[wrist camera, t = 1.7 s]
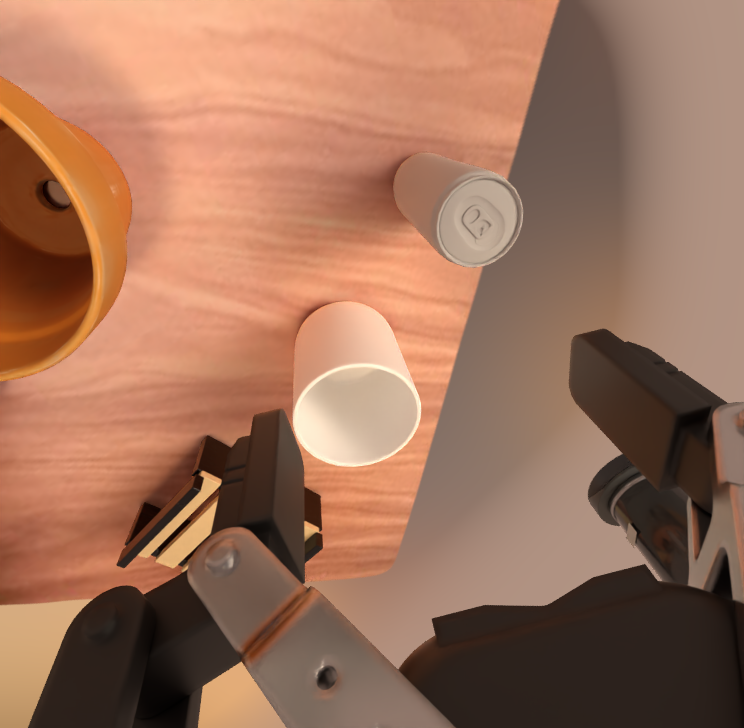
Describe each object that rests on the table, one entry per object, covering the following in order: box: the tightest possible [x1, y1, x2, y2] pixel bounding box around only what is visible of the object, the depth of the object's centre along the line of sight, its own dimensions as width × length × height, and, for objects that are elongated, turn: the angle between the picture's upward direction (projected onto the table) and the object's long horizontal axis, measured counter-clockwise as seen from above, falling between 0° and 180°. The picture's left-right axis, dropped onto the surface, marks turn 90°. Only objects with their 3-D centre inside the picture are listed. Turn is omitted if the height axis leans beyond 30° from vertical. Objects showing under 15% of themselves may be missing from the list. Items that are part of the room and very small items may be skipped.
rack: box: [117, 436, 323, 572], centre depth 42 cm, size 14×12×7 cm
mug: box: [292, 301, 421, 466], centre depth 34 cm, size 9×12×11 cm
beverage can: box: [393, 152, 523, 268], centre depth 27 cm, size 5×5×12 cm
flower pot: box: [0, 76, 132, 381], centre depth 23 cm, size 14×14×13 cm
